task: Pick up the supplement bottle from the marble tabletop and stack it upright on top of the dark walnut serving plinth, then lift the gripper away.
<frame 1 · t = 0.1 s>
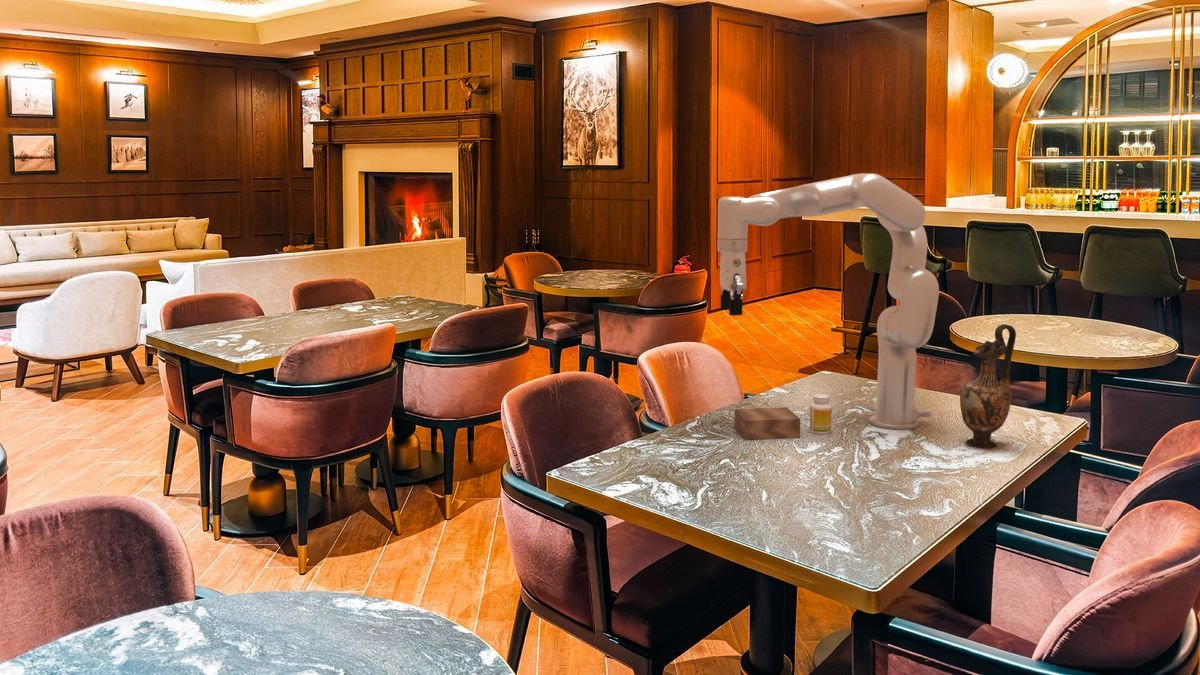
hand: (731, 312, 244), 31 cm above the table, fingers open, 9 cm apart
vase: (983, 445, 234), on the table
walnut plinth: (766, 432, 247), on the table
supplement bottle: (820, 432, 247), on the table
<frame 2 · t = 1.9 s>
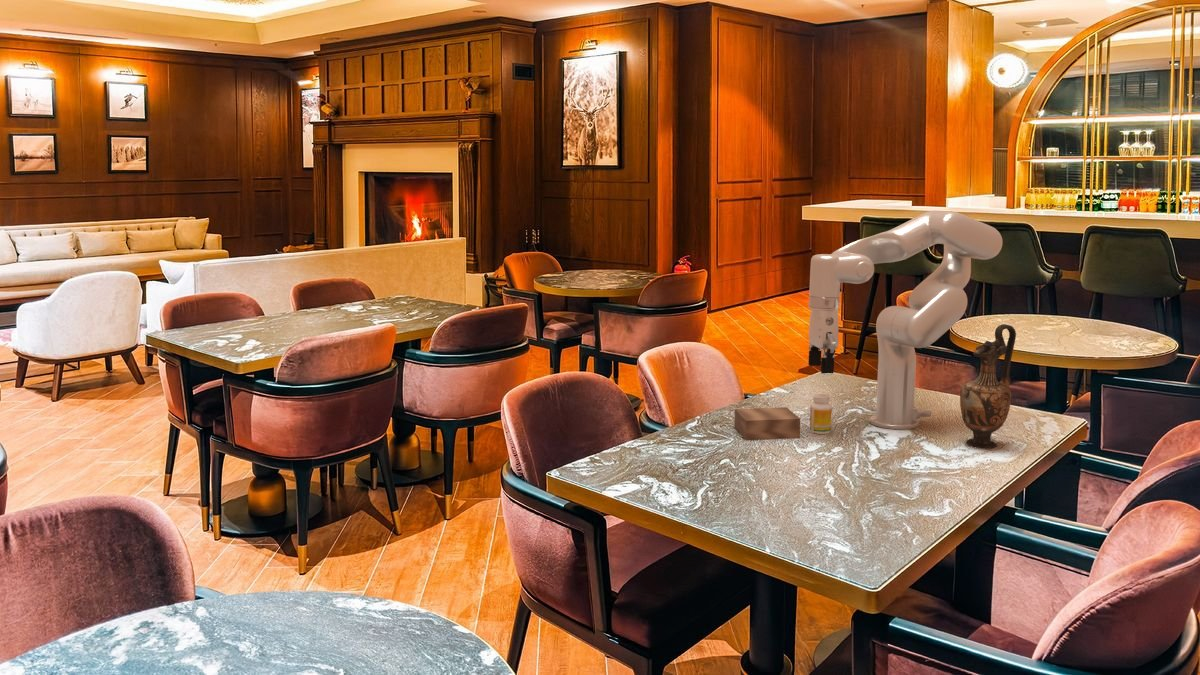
hand: (820, 369, 244), 17 cm above the table, fingers open, 9 cm apart
nothing on the table moved.
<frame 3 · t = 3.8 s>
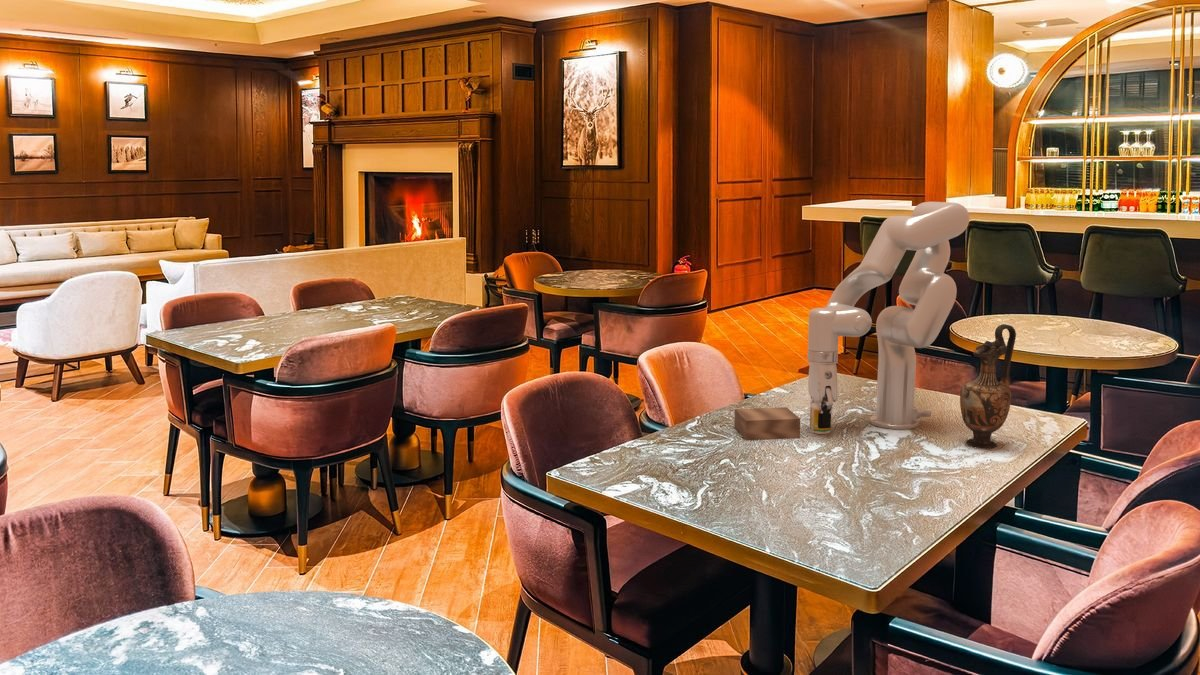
hand: (820, 424, 247), 2 cm above the table, fingers closed on supplement bottle, 5 cm apart
supplement bottle: (820, 432, 247), on the table, touching gripper
everything else where it was.
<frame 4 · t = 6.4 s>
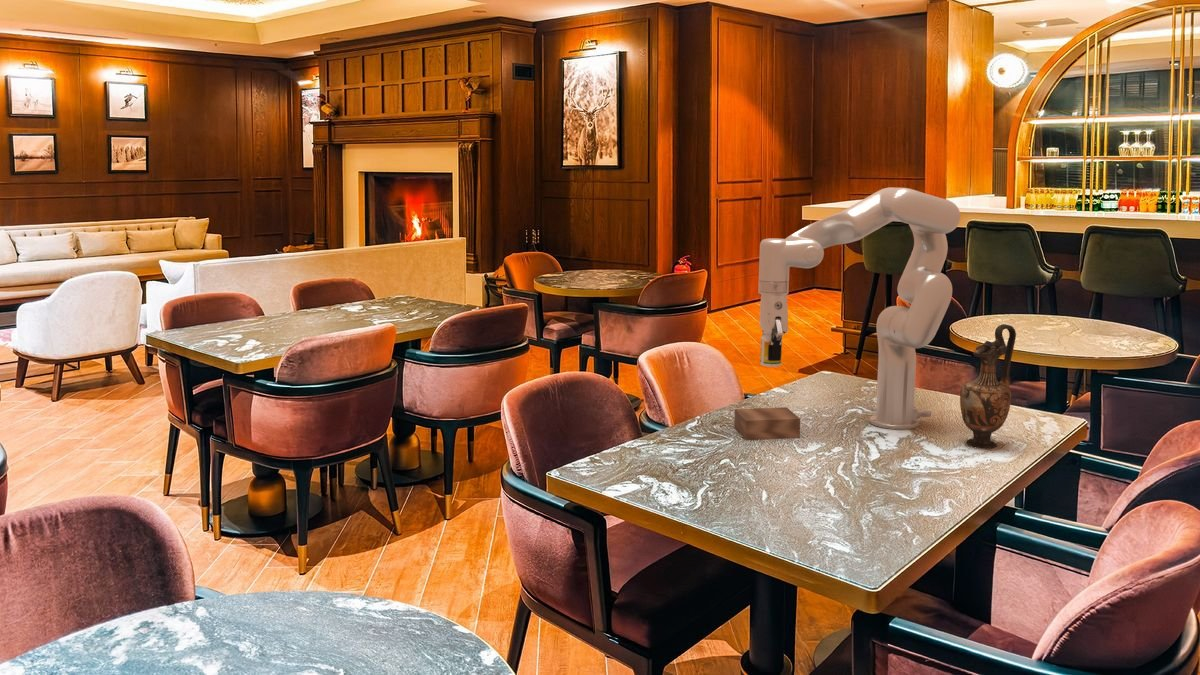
hand: (770, 357, 243), 20 cm above the table, fingers closed on supplement bottle, 5 cm apart
supplement bottle: (770, 365, 244), point 18 cm above the table, touching gripper
everything else where it was.
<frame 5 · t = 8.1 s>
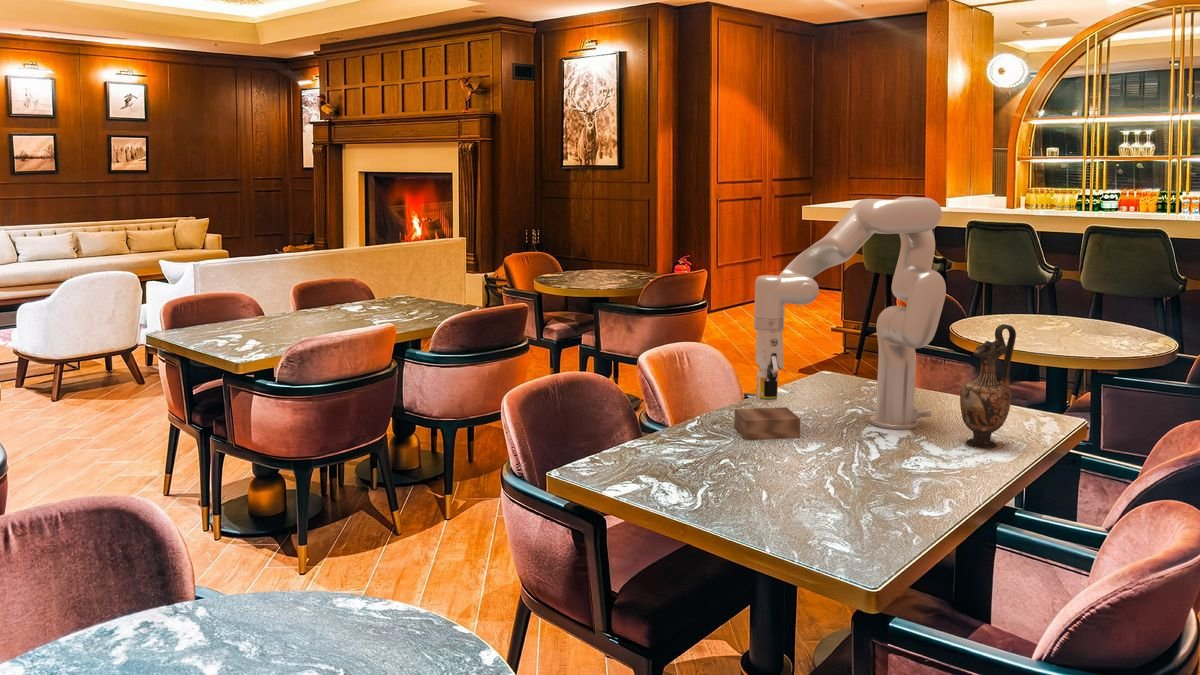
hand: (767, 392, 245), 11 cm above the table, fingers closed on supplement bottle, 5 cm apart
supplement bottle: (766, 401, 245), point 8 cm above the table, touching gripper
everything else where it was.
when the fingers open (9 cm above the table, at t = 9.3 s): supplement bottle drops 2 cm, resting on walnut plinth.
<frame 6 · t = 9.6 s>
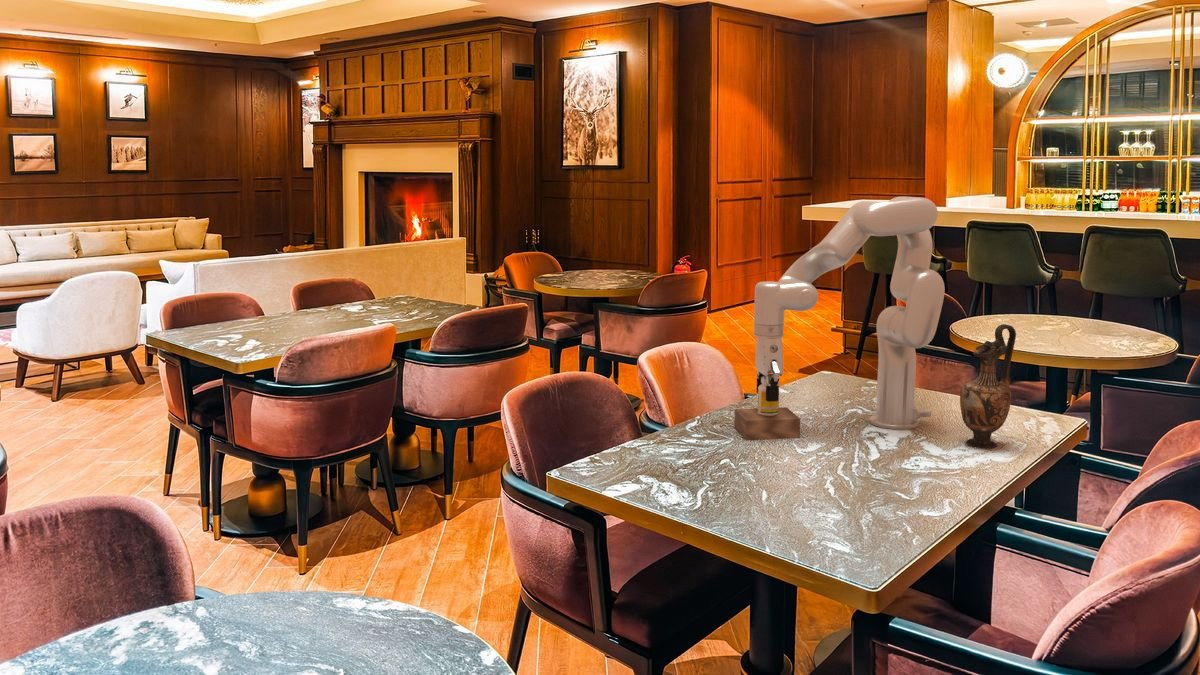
hand: (767, 396, 245), 10 cm above the table, fingers open, 8 cm apart
supplement bottle: (767, 414, 246), point 5 cm above the table, touching walnut plinth
everything else where it was.
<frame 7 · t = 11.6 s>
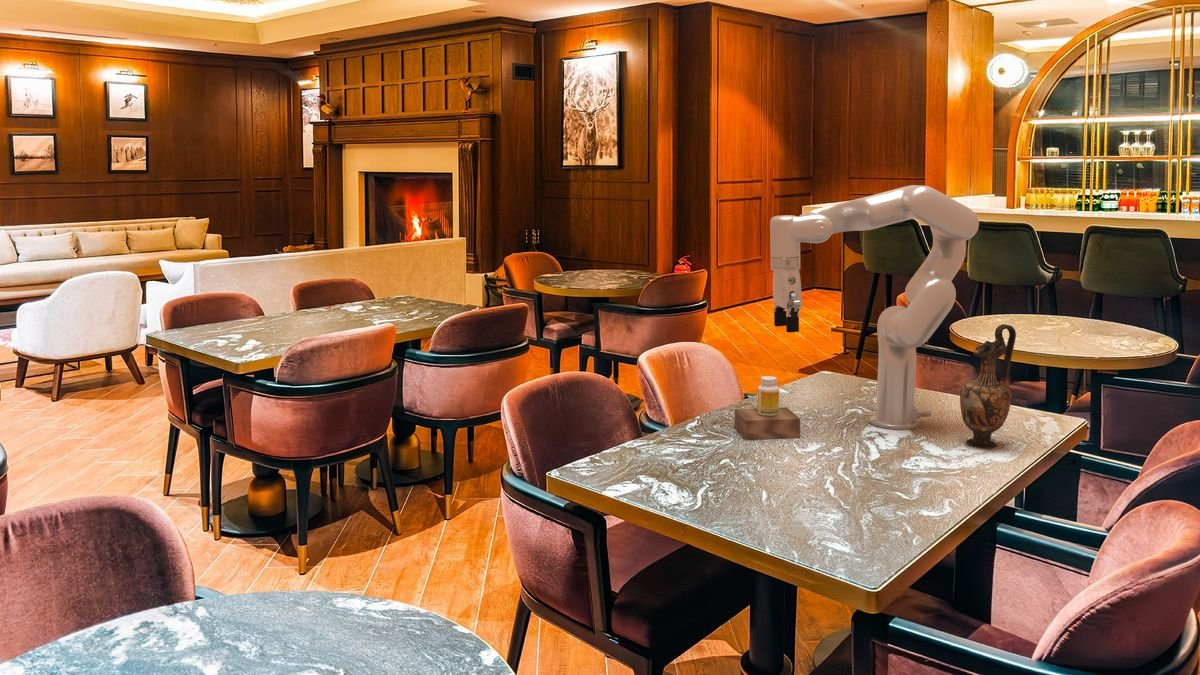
hand: (786, 328, 248), 26 cm above the table, fingers open, 9 cm apart
nothing on the table moved.
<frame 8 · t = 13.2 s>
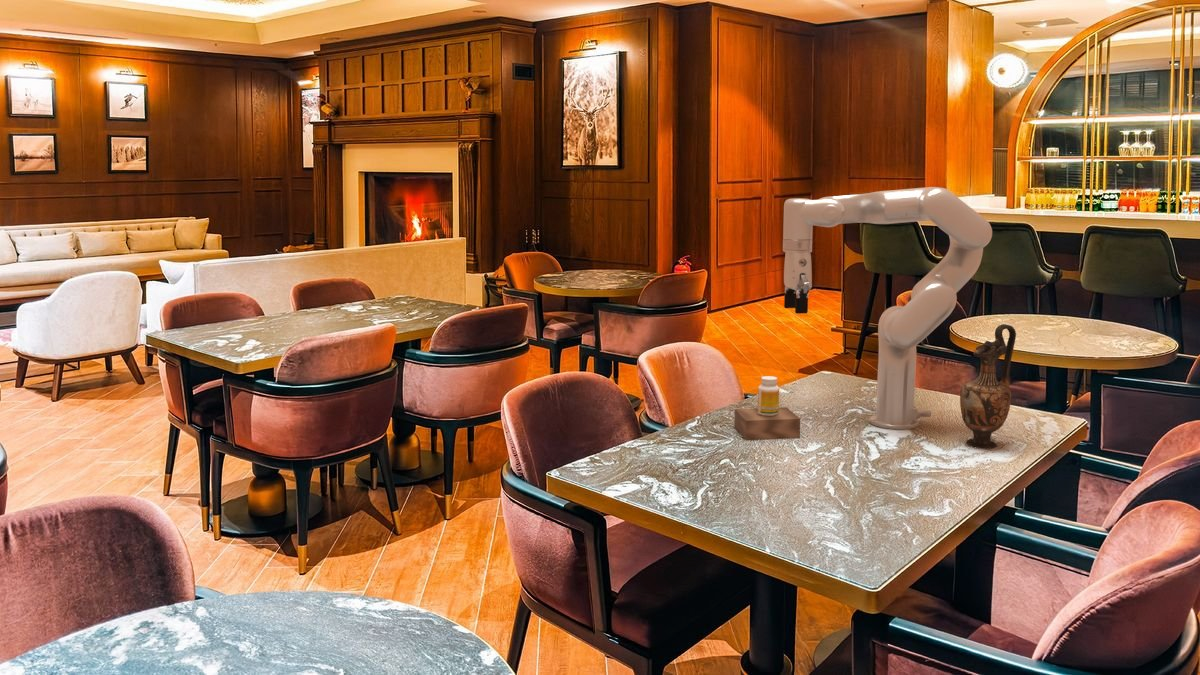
hand: (795, 310, 252), 30 cm above the table, fingers open, 9 cm apart
nothing on the table moved.
at the end: supplement bottle inside the target area on the walnut plinth (0.3 cm from its centre), point 4.8 cm above the walnut plinth's base; supplement bottle tilted 1°; the gripper is holding nothing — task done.
